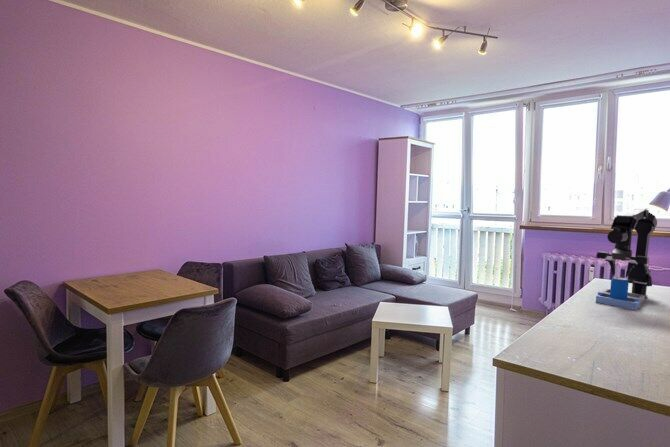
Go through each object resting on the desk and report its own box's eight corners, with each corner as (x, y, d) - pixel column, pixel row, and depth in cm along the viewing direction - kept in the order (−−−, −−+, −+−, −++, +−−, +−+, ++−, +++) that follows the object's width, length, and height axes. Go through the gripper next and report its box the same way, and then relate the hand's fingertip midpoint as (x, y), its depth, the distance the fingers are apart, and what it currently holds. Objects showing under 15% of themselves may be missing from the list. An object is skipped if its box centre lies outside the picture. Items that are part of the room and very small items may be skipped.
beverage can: (620, 302, 180) (623, 277, 179) (629, 306, 174) (632, 280, 173) (606, 301, 181) (608, 276, 180) (614, 305, 174) (616, 279, 173)
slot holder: (605, 294, 194) (606, 286, 193) (644, 301, 183) (645, 293, 182) (595, 302, 179) (595, 293, 179) (636, 310, 168) (637, 301, 168)
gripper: (594, 241, 176) (591, 274, 177) (646, 246, 163) (642, 282, 164) (600, 239, 184) (597, 271, 185) (650, 244, 170) (647, 278, 172)
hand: (620, 276), depth 176 cm, fingers open, 4 cm apart
